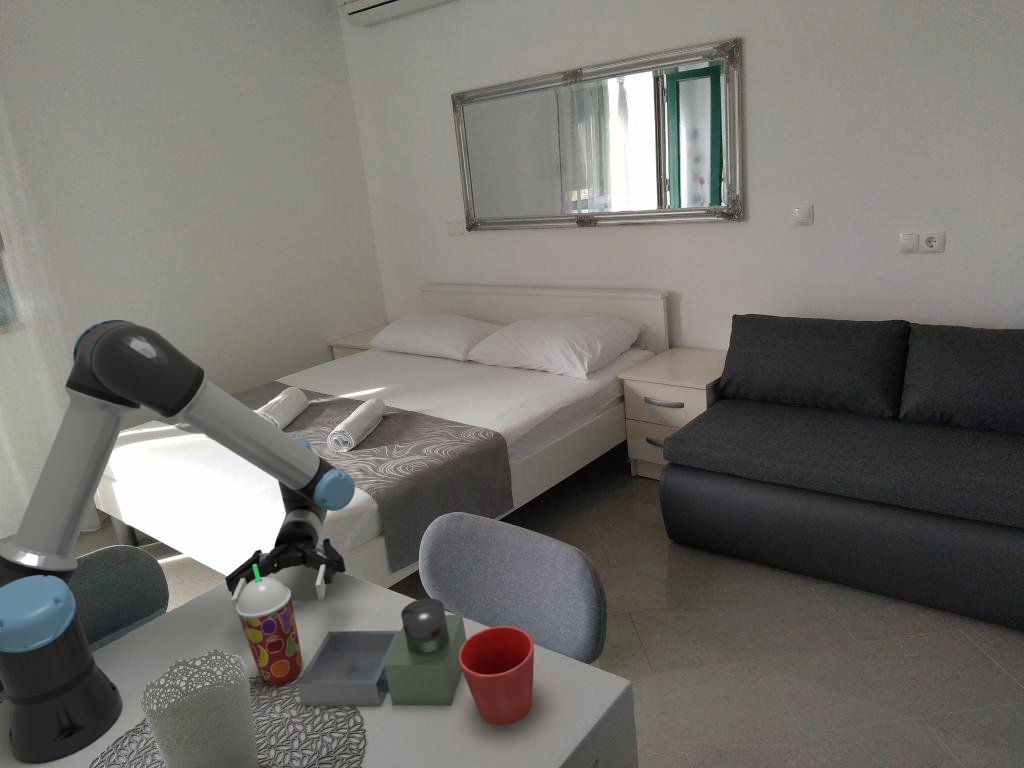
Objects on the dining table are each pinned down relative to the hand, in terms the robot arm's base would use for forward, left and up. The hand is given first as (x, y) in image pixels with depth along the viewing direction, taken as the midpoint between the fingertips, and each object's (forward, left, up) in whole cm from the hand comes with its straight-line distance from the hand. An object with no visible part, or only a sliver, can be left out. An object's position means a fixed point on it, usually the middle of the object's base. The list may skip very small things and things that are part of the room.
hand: (277, 599), depth 124 cm
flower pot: (+39, -11, -11) cm, 42 cm away
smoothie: (+1, -4, -11) cm, 12 cm away
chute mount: (+19, -5, -11) cm, 22 cm away
